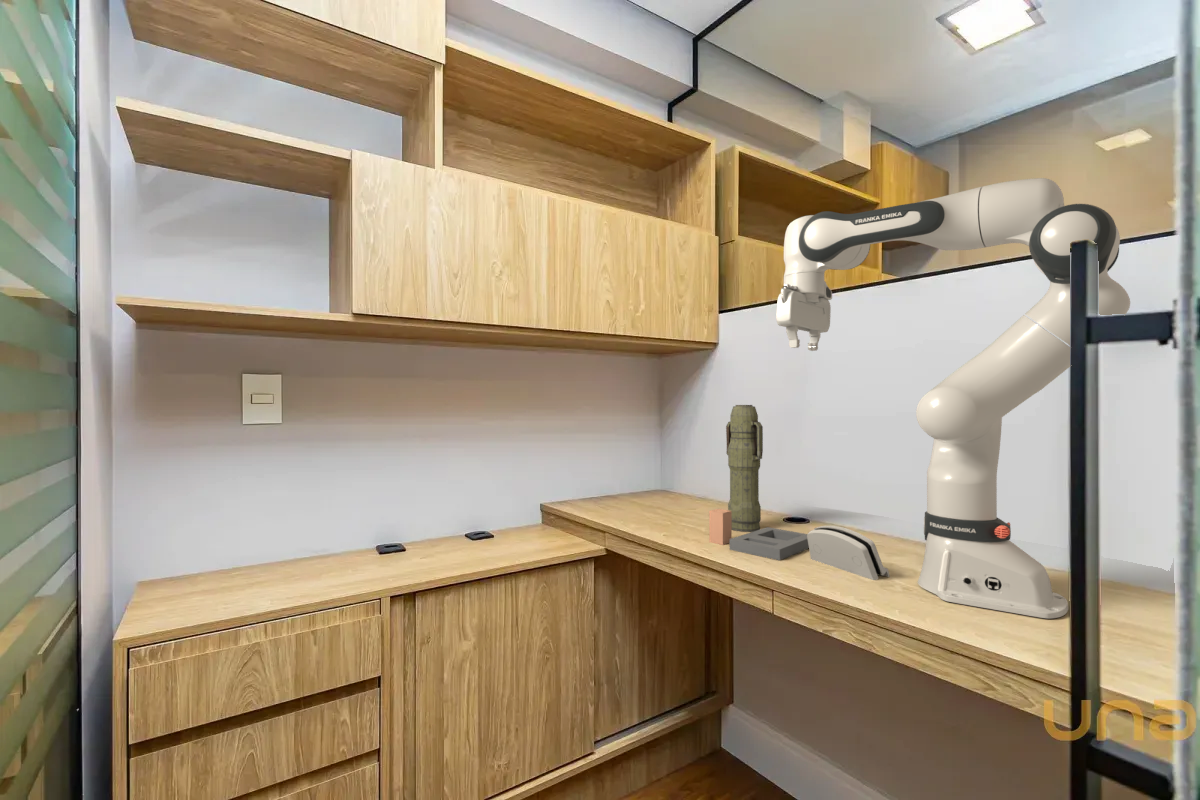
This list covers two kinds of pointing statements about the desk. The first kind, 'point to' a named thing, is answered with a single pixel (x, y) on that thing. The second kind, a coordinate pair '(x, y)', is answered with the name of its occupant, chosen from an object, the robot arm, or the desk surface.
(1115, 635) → the desk surface
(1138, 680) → the desk surface
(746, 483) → the thermos
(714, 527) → the square peg
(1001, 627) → the desk surface
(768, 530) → the socket block
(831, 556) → the grey arched slotted block
